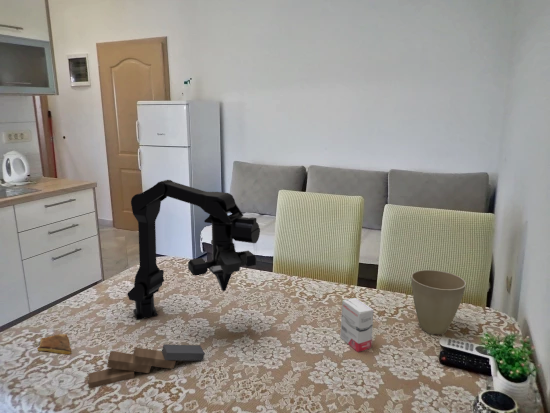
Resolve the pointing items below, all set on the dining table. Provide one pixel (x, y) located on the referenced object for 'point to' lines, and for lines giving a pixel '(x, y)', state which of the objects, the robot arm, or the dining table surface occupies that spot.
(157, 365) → the domino
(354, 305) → the ink box
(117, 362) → the domino
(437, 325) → the plant pot
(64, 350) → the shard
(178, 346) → the dark gray rectangular block
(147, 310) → the robot arm
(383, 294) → the dining table surface
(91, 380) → the domino
